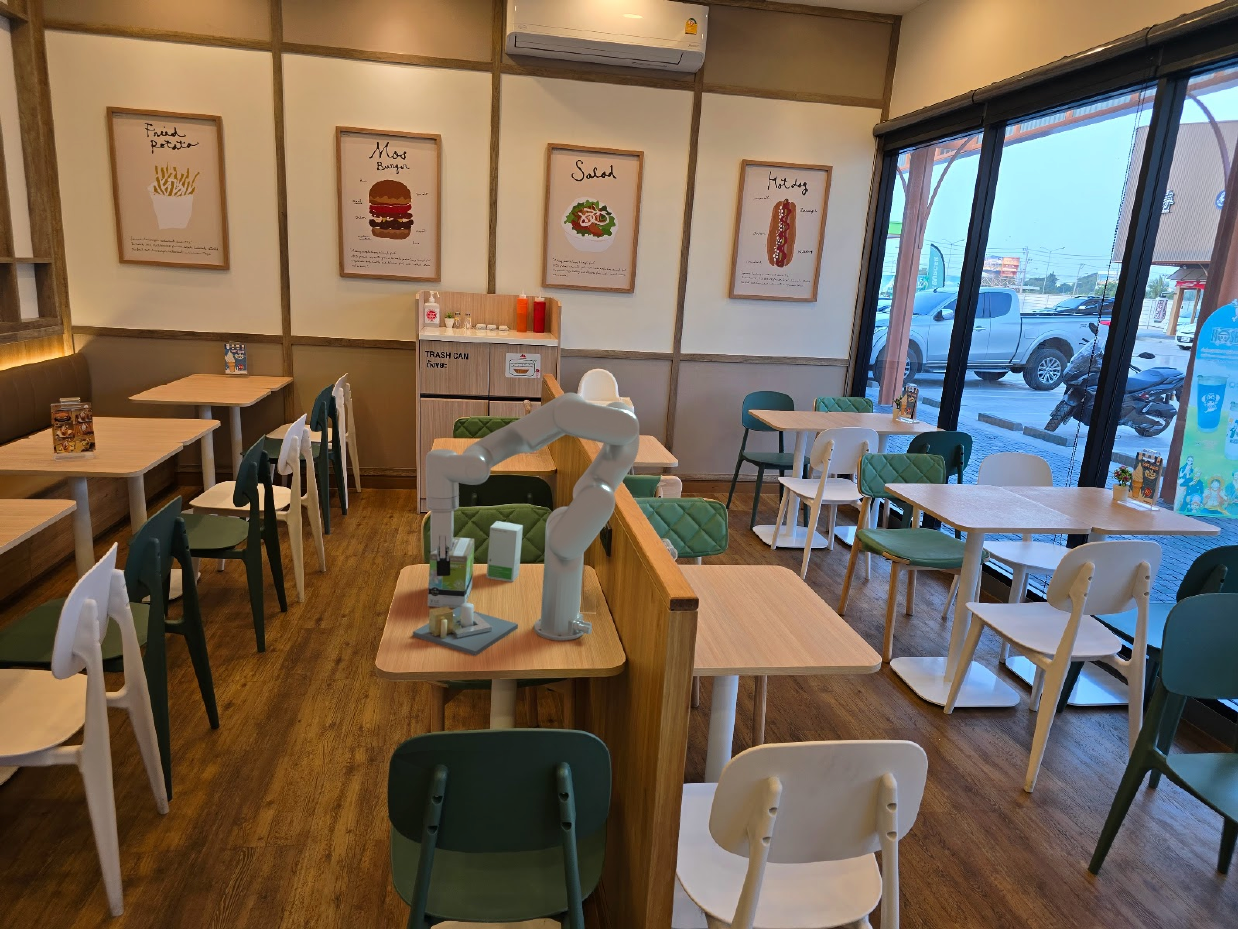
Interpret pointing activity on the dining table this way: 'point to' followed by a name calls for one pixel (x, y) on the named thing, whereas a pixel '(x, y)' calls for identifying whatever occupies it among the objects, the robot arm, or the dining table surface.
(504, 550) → the skincare box
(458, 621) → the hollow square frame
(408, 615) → the dining table surface
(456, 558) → the tea box
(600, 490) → the robot arm
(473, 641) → the post board
